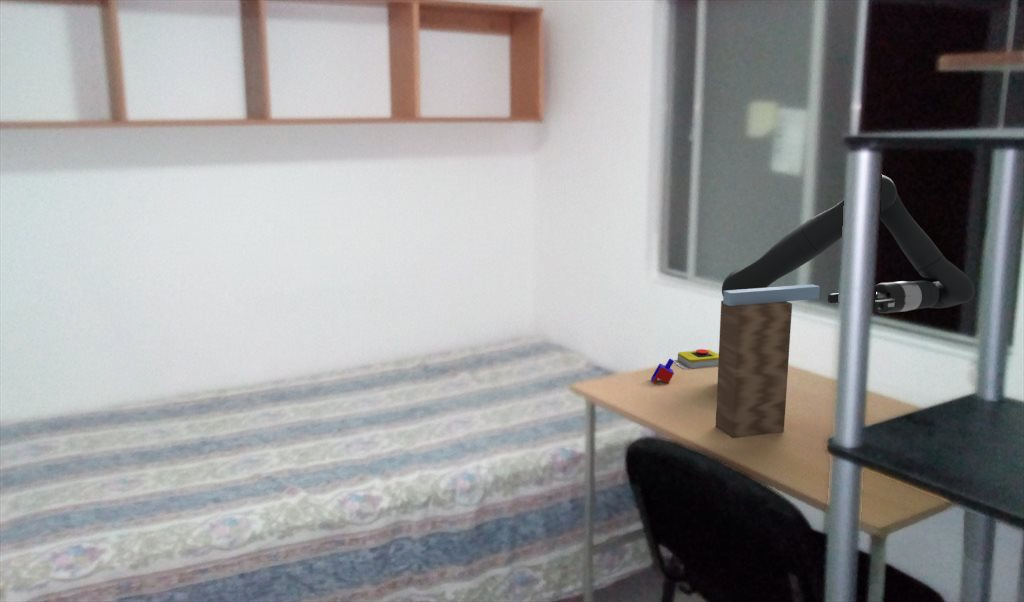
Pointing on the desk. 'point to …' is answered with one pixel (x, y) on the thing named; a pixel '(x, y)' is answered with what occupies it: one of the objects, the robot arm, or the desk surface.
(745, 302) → the bar
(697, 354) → the emergency button
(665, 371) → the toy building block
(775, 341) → the upright
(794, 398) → the desk surface
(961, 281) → the robot arm
